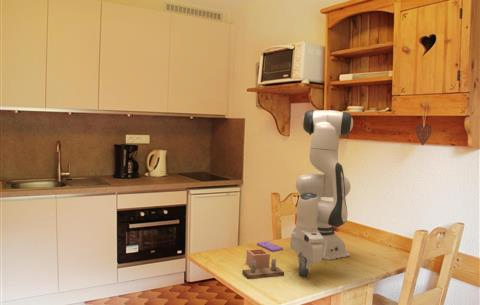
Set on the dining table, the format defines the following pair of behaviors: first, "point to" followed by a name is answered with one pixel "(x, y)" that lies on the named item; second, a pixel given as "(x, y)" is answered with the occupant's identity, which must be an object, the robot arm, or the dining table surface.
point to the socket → (258, 258)
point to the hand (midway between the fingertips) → (304, 266)
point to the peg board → (262, 271)
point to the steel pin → (303, 267)
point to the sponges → (270, 246)
